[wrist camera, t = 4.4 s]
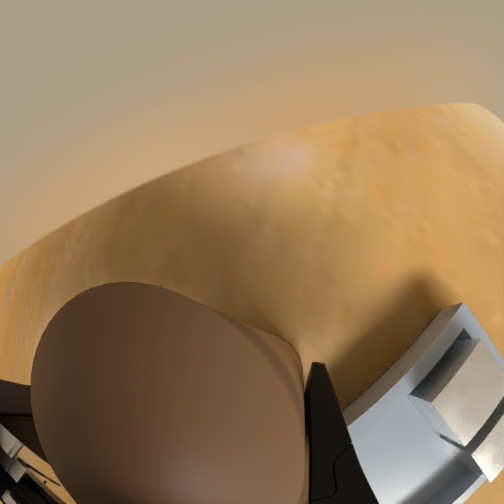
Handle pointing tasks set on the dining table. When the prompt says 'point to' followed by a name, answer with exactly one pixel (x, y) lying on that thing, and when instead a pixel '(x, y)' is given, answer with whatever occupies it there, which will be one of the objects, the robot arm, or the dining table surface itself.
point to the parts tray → (413, 423)
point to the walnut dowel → (167, 402)
